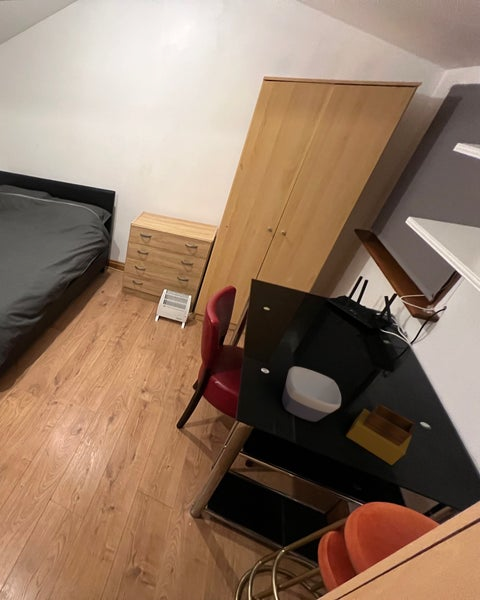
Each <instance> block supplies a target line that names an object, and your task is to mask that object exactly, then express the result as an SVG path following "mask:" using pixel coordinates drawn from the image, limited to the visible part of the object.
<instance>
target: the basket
mask: <svg viewBox="0 0 480 600" xmlns="http://www.w3.org/2000/svg"><path fill="white" fill-rule="evenodd" d="M363 425H364V426H366V427H367V428H369V429H371V430H372V431H374V432H376V433H377V434H379V435H381V436H382V437H384V438H386V439H387V440H389V441H391V442H392V443H394V444H396V445H397V446H400V445H401V444H403V443H404V441H405V440H406V439H407V438H408V437H410V436H411V435H412V433H413V431H414V429H415V425H416V423H415V422H413V421H411V420H410V419H407V418H406V417H404V416H403V415H401V414H399V413H398V412H395V411H394V410H391V409H390V408H388V407H386V406H384V405H382V404H381V403H380V402H378V403H377V404H376V405H375V406H374V407H373V409H372V410H370V413H369V414H368V416H367V418H366V420H365V422H364V423H363ZM411 437H412V436H411Z"/></svg>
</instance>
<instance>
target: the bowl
mask: <svg viewBox="0 0 480 600" xmlns="http://www.w3.org/2000/svg"><path fill="white" fill-rule="evenodd" d="M341 394H342V393H341V391H340V389H339V385H338V384H337V382H336V381H335V380H334V379H332V378H331V377H330V376H327V375H324V374H322V373H320V372H317V371H314V370H311V369H308V368H305V367H302V366H296V365H295V366H291V367H290V368H289V369H288V373H287V376H286V381H285V384H284V388H283V391H282V395H281V402H282V406H283V408H284V410H286V411H287V413H289V414H292V415H294V416H296V417H298V418H300V419H302V420H305V421H309V422H313V423H314V422H315V423H317V422H318V421H320V420H322V419H323V418H325V417H326V416H328V415H330V414H331V413H333V412H335V411H337V410H338V409H340V407H341V405H342V395H341Z"/></svg>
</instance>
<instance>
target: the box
mask: <svg viewBox="0 0 480 600" xmlns="http://www.w3.org/2000/svg"><path fill="white" fill-rule="evenodd" d="M370 412H371V410H368V409H366V408H365V407H364V408H363V409H362V411H361V413H359V414H358V416H357V417H356V418H355V419H354V421H353V422H352V424H351V425H350V427H349V430H348V431H347V433H346V435H345V437H346V438H348V439H349V440H351V441H353V442H354V443H356V444H357V445H359V446H360V447H362V448H364V449H365V450H366V451H368V452H370V453H371V454H373V455H375V456H376V457H377V458H379V459H381V460H383V461H384V462H386V463H387V464H388V465H390V466H393V465H394V464H396V462H398V460H399V459H401V458H402V457H403V456H405V455H406V452H407V450H408V447H409V445H410V441H411V439H412V437H413V436H412V434H411V436H410V437H408V438H407V439H406V440H405V441H404V443H403V444H401V445H400V446H397V445H396V444H394V443H392V442H391V441H389V440H387V439H386V438H384V437H382V436H381V435H379V434H377V433H376V432H374V431H372V430H371V429H369V428H367V427H366V426H364V425H363V423H364V422H365V420H366V418H367V416H368V414H369V413H370Z"/></svg>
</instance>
